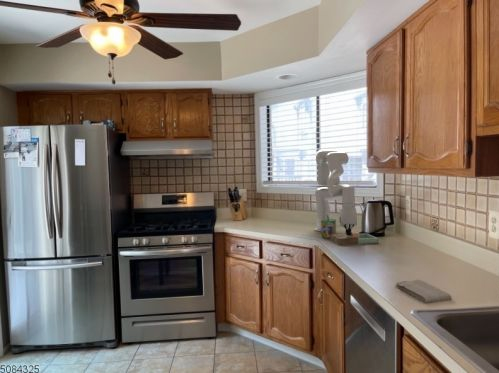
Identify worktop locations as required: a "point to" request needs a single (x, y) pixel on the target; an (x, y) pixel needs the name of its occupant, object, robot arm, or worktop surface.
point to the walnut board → (343, 239)
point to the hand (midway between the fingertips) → (348, 235)
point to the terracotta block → (355, 234)
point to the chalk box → (328, 227)
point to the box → (367, 239)
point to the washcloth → (423, 291)
